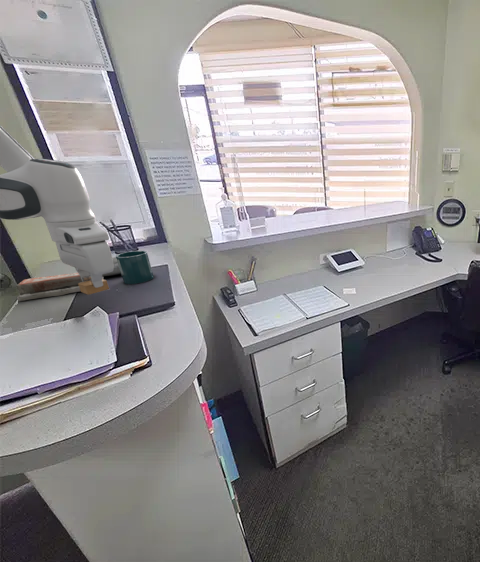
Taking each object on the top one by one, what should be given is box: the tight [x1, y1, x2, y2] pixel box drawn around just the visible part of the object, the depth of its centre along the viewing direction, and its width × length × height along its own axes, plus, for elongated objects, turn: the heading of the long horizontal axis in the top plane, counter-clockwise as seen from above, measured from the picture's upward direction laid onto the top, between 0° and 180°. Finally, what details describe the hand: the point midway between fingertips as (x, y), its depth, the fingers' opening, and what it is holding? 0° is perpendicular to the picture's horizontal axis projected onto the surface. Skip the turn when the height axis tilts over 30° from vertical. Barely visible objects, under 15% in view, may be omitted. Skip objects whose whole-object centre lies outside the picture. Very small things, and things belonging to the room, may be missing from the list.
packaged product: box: [16, 272, 105, 302], centre depth 95 cm, size 18×5×10 cm
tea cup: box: [115, 250, 155, 285], centre depth 103 cm, size 8×8×9 cm
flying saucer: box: [102, 256, 121, 277], centre depth 110 cm, size 15×15×6 cm
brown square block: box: [78, 279, 110, 296], centre depth 80 cm, size 4×4×2 cm
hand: (93, 284), depth 79 cm, fingers closed on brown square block, 4 cm apart
